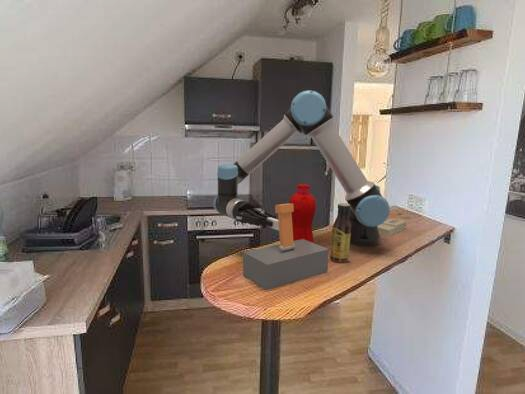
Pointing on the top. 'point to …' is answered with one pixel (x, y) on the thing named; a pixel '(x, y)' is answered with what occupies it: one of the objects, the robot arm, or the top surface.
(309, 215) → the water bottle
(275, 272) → the breaker box
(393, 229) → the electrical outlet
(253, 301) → the top surface
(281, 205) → the lever
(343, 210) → the sauce bottle
